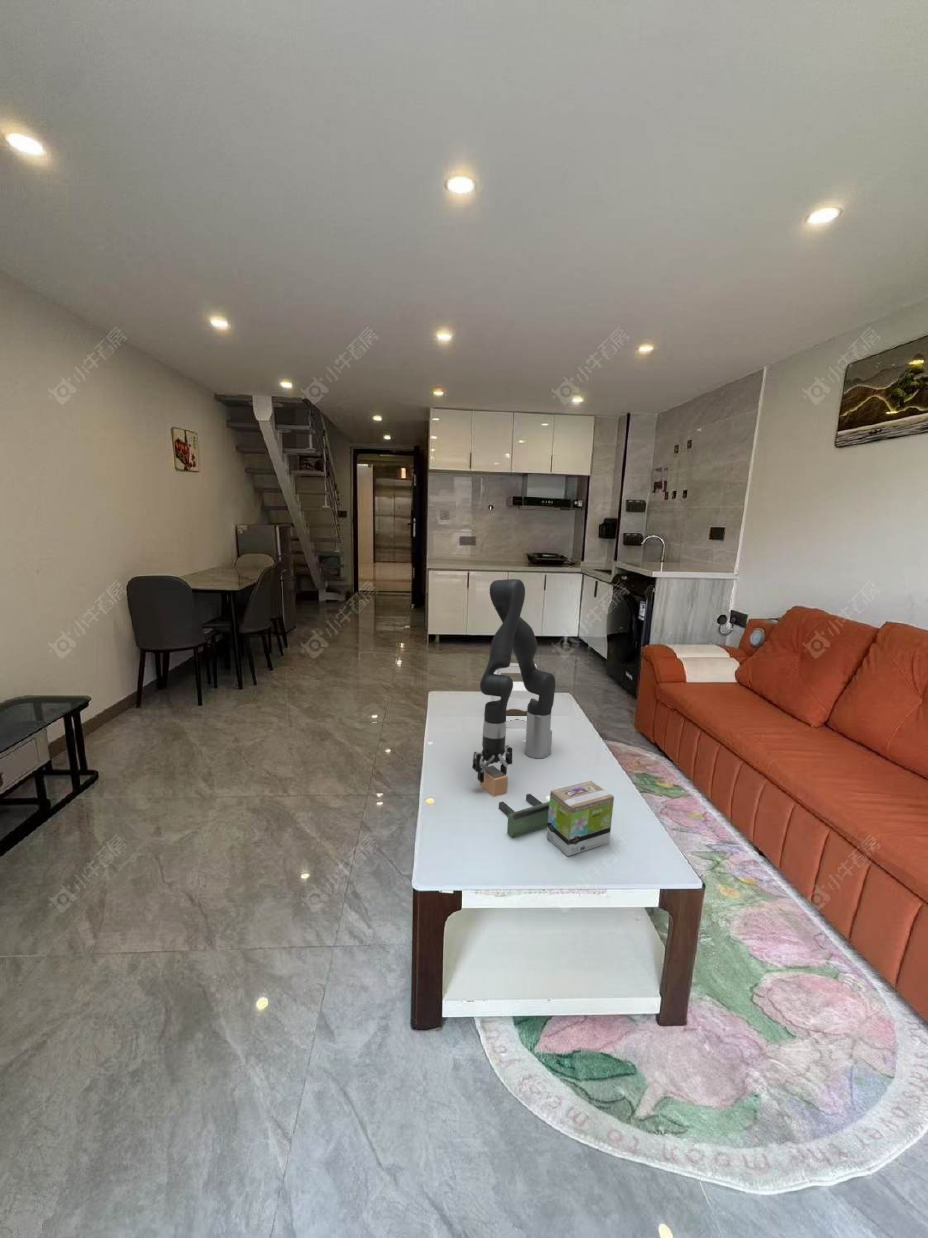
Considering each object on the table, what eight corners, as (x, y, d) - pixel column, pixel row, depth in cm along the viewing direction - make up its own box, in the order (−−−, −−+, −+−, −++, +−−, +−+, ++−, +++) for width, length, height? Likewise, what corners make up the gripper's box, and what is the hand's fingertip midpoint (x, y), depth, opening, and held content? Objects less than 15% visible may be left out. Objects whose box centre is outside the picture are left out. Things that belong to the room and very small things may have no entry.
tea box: (568, 858, 133) (572, 807, 130) (545, 838, 142) (548, 789, 139) (610, 843, 140) (615, 795, 137) (586, 824, 149) (590, 778, 146)
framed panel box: (492, 781, 173) (492, 764, 172) (506, 793, 165) (507, 775, 164) (479, 784, 170) (480, 767, 169) (494, 797, 163) (494, 778, 161)
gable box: (492, 728, 219) (494, 666, 214) (490, 716, 232) (492, 658, 227) (542, 729, 220) (545, 667, 215) (537, 717, 233) (540, 659, 228)
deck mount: (541, 795, 164) (543, 775, 163) (573, 819, 151) (574, 797, 150) (485, 812, 153) (485, 790, 152) (513, 839, 140) (514, 816, 139)
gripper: (505, 726, 171) (503, 770, 174) (469, 732, 164) (467, 778, 167) (518, 734, 165) (515, 779, 167) (481, 741, 158) (479, 788, 160)
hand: (491, 779), depth 167 cm, fingers open, 8 cm apart
